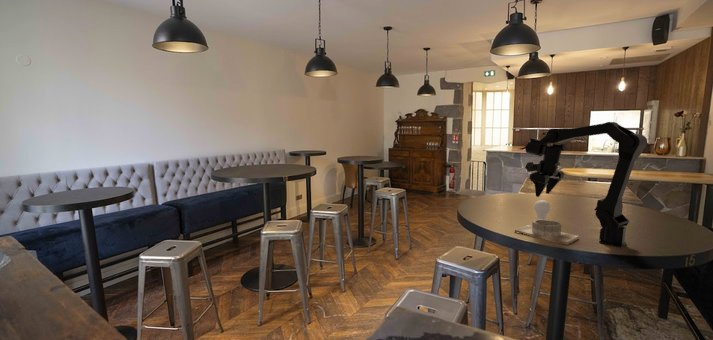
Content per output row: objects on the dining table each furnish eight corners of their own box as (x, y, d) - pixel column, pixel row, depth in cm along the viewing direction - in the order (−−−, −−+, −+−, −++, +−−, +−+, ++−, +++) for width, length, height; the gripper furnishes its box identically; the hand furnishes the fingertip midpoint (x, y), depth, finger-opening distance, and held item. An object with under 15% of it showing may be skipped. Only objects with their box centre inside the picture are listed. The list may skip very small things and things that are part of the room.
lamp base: (578, 238, 128) (579, 225, 127) (567, 244, 121) (568, 231, 120) (527, 227, 142) (528, 215, 142) (514, 232, 136) (515, 220, 135)
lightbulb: (542, 228, 140) (543, 202, 139) (529, 224, 146) (531, 199, 145) (552, 226, 143) (554, 201, 141) (540, 223, 148) (541, 198, 147)
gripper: (541, 153, 150) (533, 186, 154) (520, 156, 139) (512, 192, 143) (568, 159, 142) (559, 194, 146) (549, 162, 130) (539, 200, 135)
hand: (542, 195), depth 143 cm, fingers open, 9 cm apart
